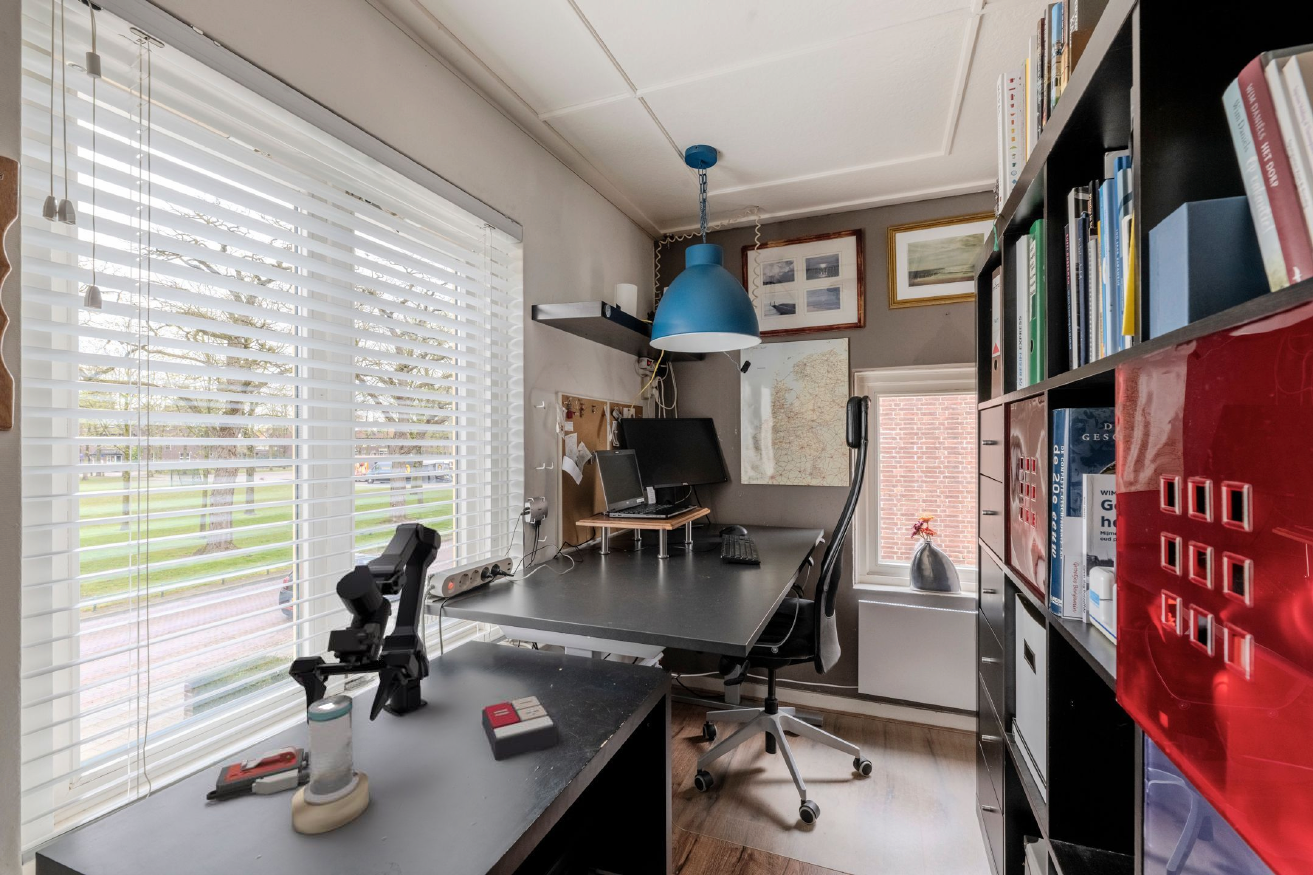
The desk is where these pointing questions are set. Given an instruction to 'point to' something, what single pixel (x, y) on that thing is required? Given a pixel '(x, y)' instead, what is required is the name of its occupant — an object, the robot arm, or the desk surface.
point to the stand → (329, 810)
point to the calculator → (518, 727)
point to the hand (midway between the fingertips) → (340, 722)
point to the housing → (330, 751)
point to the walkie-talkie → (262, 774)
